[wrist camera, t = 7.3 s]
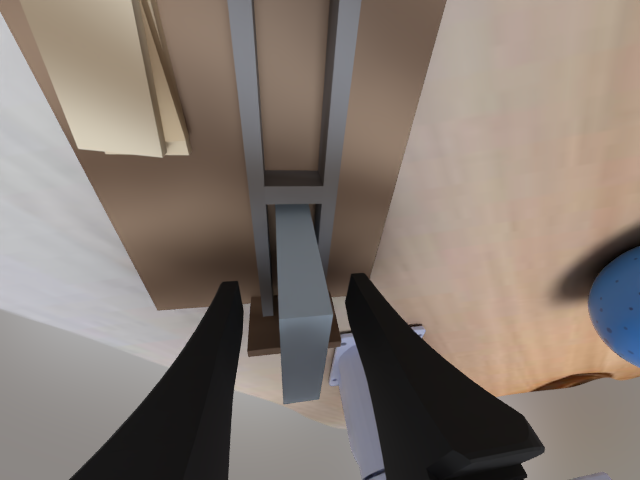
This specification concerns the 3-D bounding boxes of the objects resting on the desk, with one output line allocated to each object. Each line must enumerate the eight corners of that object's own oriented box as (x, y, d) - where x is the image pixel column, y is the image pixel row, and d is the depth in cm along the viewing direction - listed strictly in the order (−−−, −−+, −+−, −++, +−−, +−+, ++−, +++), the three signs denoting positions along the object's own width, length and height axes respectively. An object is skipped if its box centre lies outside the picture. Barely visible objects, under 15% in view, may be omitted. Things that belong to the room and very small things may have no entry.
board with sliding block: (361, 283, 18) (382, 342, 15) (162, 297, 16) (134, 369, 13) (456, -98, 8) (608, -203, 4) (-77, -201, 6) (-623, -568, 2)
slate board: (303, 283, 16) (319, 399, 11) (279, 285, 16) (283, 404, 11) (307, 198, 12) (333, 314, 7) (275, 198, 12) (278, 319, 7)
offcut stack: (196, 150, 10) (187, 165, 9) (108, 149, 10) (87, 165, 8) (146, -72, 7) (119, -94, 5) (1, -92, 6) (-61, -121, 5)
